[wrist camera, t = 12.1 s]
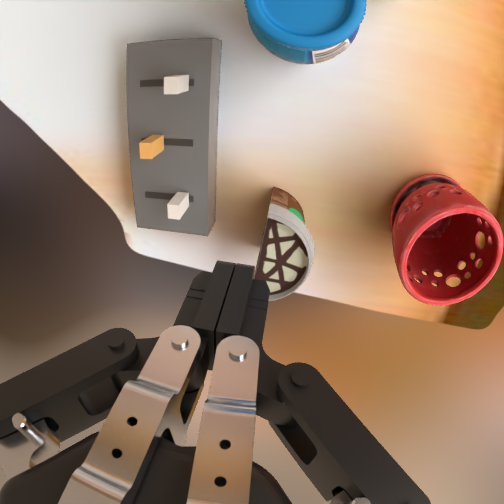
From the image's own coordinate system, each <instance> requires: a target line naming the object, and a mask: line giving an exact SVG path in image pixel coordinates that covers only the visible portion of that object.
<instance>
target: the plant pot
mask: <svg viewBox="0 0 504 504" xmlns="http://www.w3.org/2000/svg"><path fill="white" fill-rule="evenodd" d="M480 219H481V221H480ZM481 222H482V223H481ZM390 226H391V230H392V233H393V235H392V240H393V251H394V258H395V262H396V266H397V270H398V273H399V276H400V279H401V282H402V284H403V286H404V287H405V289H406V290H407V292H408V293H409V294H410V295H411V296H413V297H414V298H415V299H417V300H419V301H421V302H423V303H426V304H431V305H449V304H454V303H458V302H460V301H463V300H465V299H467V298H469V297H471V296H473V295H474V294H475V293H477V292H478V291H479V290H481V289H482V288H483V287H484V286H485V285H486V284H487V283H488V282H489V280H490V279H491V278H492V277H493V275H494V274H495V272H496V270H497V268H498V266H499V264H500V261H501V257H502V253H503V235H502V231H501V228H500V226H499V224H498V222H497V220H496V219H495V218H494V216H493V215H492V214H491V212H490V211H489V210H488V209H487V208H486V207H485V206H484V205H483V204H482V203H481V202H480V201H478V200H477V199H476V198H475V197H474V196H473V195H471V194H470V193H469V192H467V191H466V190H464V189H463V188H462V187H461V186H460V185H459V184H458V183H457V182H456V181H455V180H453V179H451V178H450V177H447V176H444V175H440V174H427V175H423V176H420V177H417V178H415V179H413V180H412V181H410V182H409V183H408V184H406V185H405V186H404V187H403V188H402V189H401V190H400V192H399V193H398V194H397V196H396V198H395V200H394V202H393V204H392V208H391V212H390ZM480 232H482V233H484V235H485V245H484V248H483V249H480V247H479V246H478V236H479V233H480ZM491 238H492V243H491ZM473 253H475V259H474V260H472V259H471V256H472V254H473ZM481 259H482V261H483V264H482V266H481V268H479V269H478V268H477V264H478V262H479V261H480V260H481ZM462 262H465V263H466V267H465V268H464V269H462V270H459V269H458V266H459V265H460V264H461V263H462ZM422 271H424V272H426V273H427V275H424V274H423V273H422ZM434 272H440V273H442V275H443V276H442V277H436V276H435V275H434ZM469 273H471V277H470V278H468V279H466V278H465V277H466V275H467V274H469ZM451 277H458V278H459V279H460V280H461V283H460V284H459V285H458V286H456V287H450V286H448V285H447V284H446V280H447V279H449V278H451ZM414 278H415V279H417V280H418V281H419V282H420V283H419V282H417V281H416V280H415V279H414ZM431 283H435V284H436V285H437V287H436V286H433V285H432V284H431Z"/></svg>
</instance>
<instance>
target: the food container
mask: <svg viewBox="0 0 504 504" xmlns="http://www.w3.org/2000/svg"><path fill="white" fill-rule="evenodd" d="M314 252H315V248H314V242H313V239H312V236H311V234H310V232H309V230H308V228H307V227H306V225H305V220H304V214H303V211H302V208H301V206H300V204H299V203H298V201H297V200H296V199H295V198H294V197H293V196H292V195H291V194H289V193H287V192H286V191H284V190H282V189H279V188H275V187H273V192H272V197H271V201H270V206H269V211H268V215H267V220H266V224H265V229H264V234H263V238H262V243H261V247H260V252H259V256H258V261H257V266H256V270H255V275H254V279H256V280H263V281H266V282H267V284H268V287H269V289H270V294H269V301H272V300H277V299H280V298H283V297H285V296H287V295H289V294H291V293H292V292H294V291H295V290H297V289H298V288H299V287H300V286H301V284H302V283H303V282H304V281H305V279H306V278H307V276H308V274H309V272H310V270H311V267H312V264H313V260H314Z"/></svg>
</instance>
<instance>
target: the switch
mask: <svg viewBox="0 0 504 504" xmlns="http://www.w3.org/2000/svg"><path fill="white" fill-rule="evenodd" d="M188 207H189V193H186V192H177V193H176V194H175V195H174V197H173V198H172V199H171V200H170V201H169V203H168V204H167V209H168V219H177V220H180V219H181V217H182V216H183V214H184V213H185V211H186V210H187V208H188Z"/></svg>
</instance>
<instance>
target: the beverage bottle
mask: <svg viewBox="0 0 504 504" xmlns="http://www.w3.org/2000/svg"><path fill="white" fill-rule="evenodd" d="M244 3H245V5H246V6H245V7H246V8H247V13H248V19H249V23H250V26H251V29H252V31H253V33H254V34H255V36H256V38H257V39H258V40H259V41H260V42H261V44H262V45H263V46H264V47H265V48H266V49H268V50H269V51H270V52H271V53H273V54H274V55H276V56H277V57H279V58H281V59H284V60H286V61H289V62H293V63H298V64H315V63H321V62H324V61H327V60H330V59H332V58H334V57H335V56H337V55H338V54H340V53H341V52H343V51H344V50H345V49H346V48H347V47H348V46H349V45H350V44H351V43H352V41H353V40H354V38H355V37H356V34H357V32H358V29H359V26H360V23H362V20H363V16H364V15H365V11H366V0H245V2H244Z"/></svg>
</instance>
